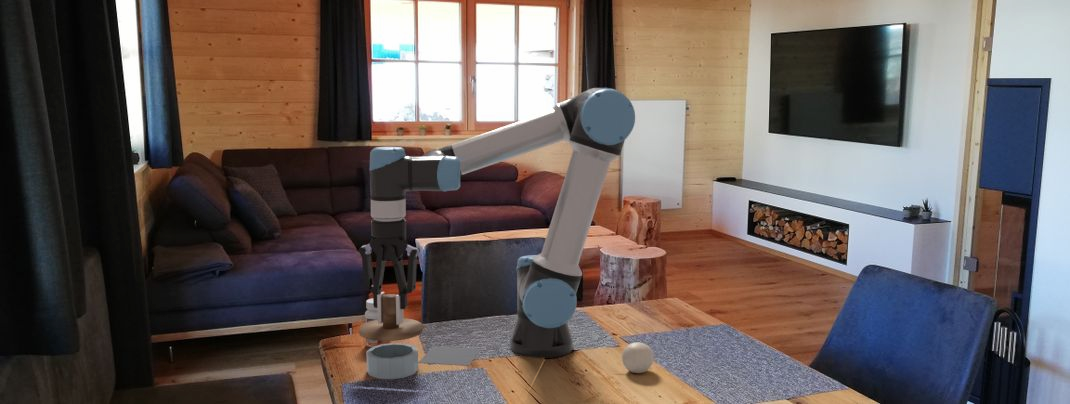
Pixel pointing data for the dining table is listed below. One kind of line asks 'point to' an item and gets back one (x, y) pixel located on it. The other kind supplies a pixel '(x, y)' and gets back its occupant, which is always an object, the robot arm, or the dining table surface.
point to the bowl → (392, 361)
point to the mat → (450, 355)
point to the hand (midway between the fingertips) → (390, 322)
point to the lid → (390, 324)
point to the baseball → (637, 357)
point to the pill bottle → (369, 316)
